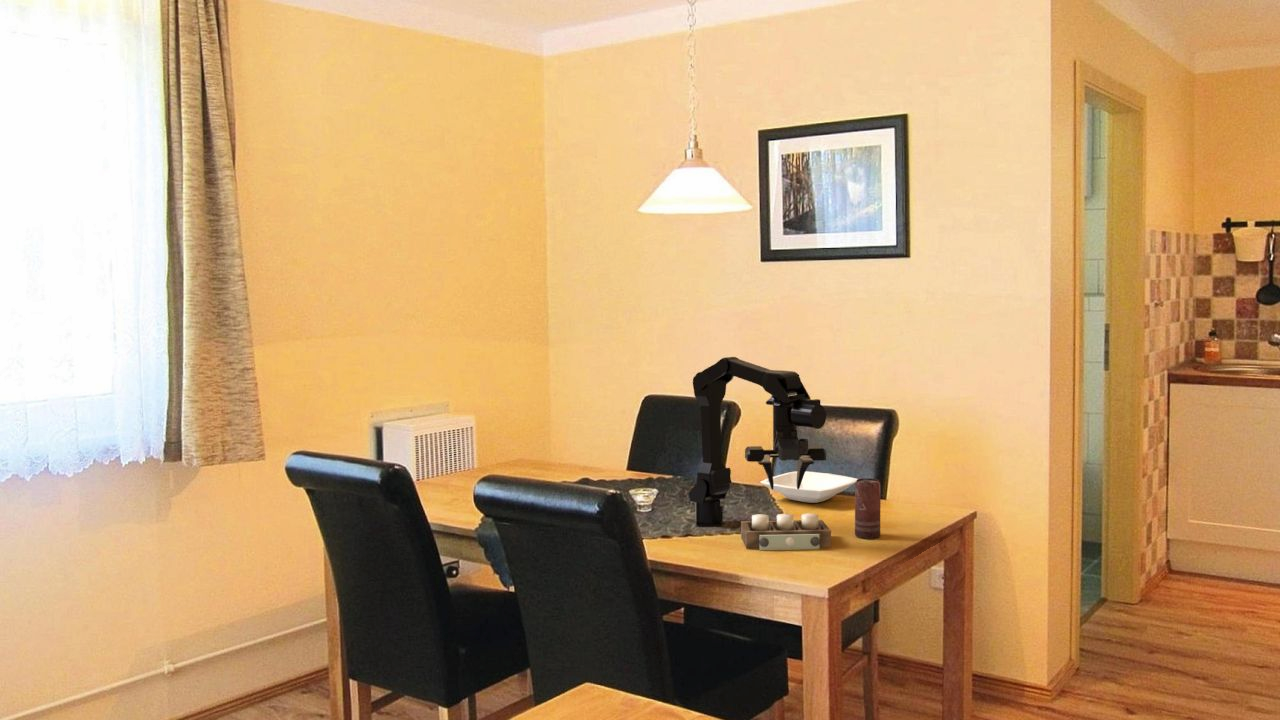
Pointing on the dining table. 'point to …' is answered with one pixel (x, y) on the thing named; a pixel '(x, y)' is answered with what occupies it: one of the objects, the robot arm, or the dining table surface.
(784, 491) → the bowl
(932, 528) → the dining table surface
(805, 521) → the button right
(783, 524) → the button mid
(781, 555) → the dining table surface
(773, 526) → the brown compartment tray
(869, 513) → the can
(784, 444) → the robot arm
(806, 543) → the card
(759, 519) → the button left
